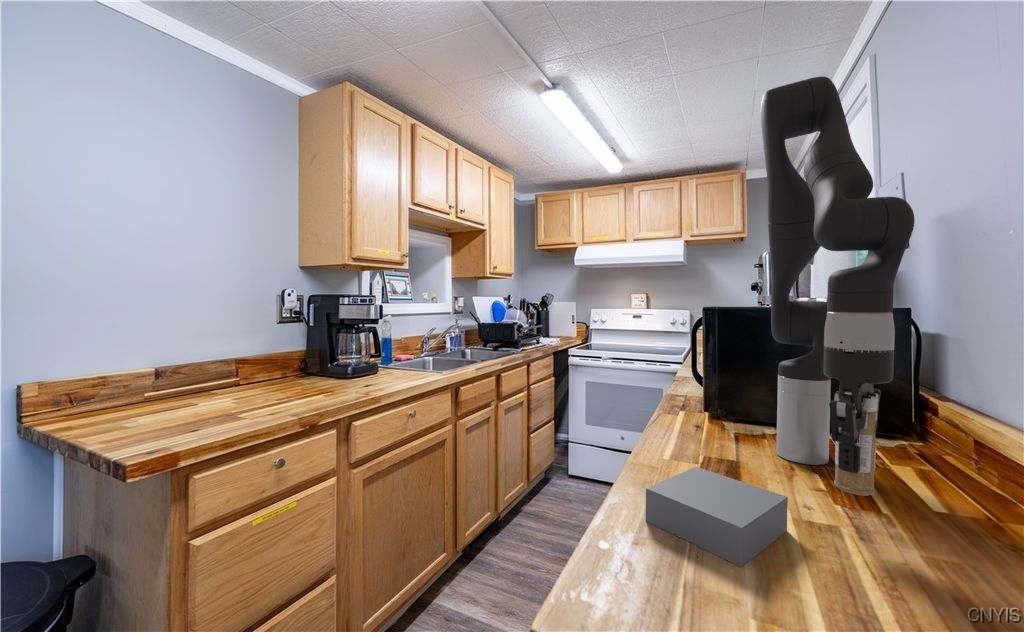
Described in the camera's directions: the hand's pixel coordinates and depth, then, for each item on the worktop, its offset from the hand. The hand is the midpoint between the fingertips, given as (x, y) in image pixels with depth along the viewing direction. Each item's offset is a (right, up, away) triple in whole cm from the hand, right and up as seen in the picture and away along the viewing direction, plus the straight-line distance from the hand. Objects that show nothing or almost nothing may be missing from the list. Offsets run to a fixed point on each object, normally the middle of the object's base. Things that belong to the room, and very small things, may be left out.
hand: (854, 465), depth 59 cm
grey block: (-18, -10, +3) cm, 21 cm away
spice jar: (0, -4, 0) cm, 4 cm away
